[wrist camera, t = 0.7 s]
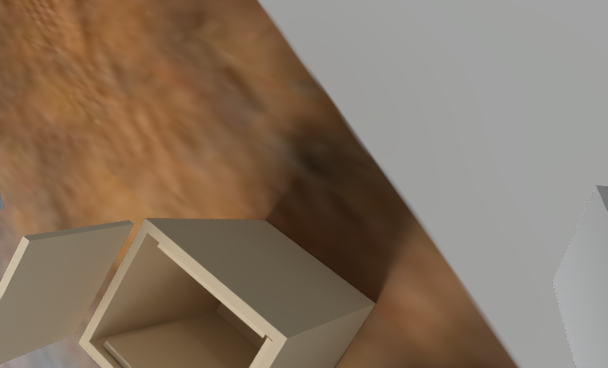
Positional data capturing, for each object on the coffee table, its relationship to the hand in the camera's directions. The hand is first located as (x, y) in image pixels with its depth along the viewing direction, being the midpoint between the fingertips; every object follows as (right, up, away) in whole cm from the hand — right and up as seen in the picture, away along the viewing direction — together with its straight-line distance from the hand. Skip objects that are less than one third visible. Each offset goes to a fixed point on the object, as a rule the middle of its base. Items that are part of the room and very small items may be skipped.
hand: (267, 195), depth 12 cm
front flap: (-12, -5, +17) cm, 22 cm away
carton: (0, -9, +32) cm, 33 cm away
